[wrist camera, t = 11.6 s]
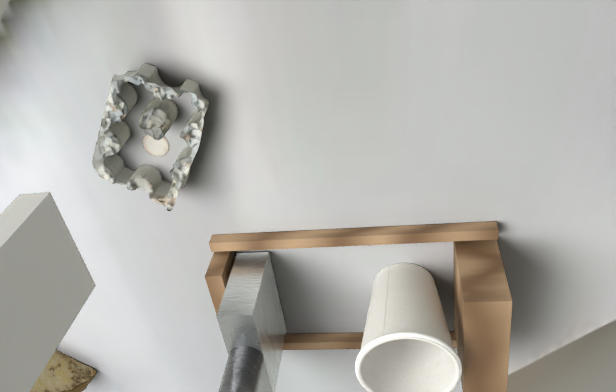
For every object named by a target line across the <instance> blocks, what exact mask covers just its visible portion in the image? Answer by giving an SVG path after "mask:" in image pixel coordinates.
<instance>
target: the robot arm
mask: <svg viewBox="0 0 616 392" xmlns="http://www.w3.org/2000/svg"><path fill="white" fill-rule="evenodd" d="M95 286H96V285H95V283H94V281H93V279H92V277H91V275H90V273H89V271H88V269H87V267H86V265H85V263H84V261H83V259H82V257H81V255H80V252H79V250H78V248H77V246H76V244H75V242H74V240H73V238H72V236H71V234H70V232H69V230H68V228H67V226H66V224H65V222H64V220H63V218H62V216H61V214H60V212H59V210H58V207H57V205H56V203H55V201H54V199H53V197H52V195H51V193H50V192H45V193H33V194H22V195H19V196H18V197H17V198H16V199H15V200H14V201H13V202H12V203H11V204H10V205H9V206H8V207H7V208H6V209H5V210H4V211H3V212H2V213H1V214H0V392H30V390H31V389H32V387H33V385H34V384H35V382H36V381H37V379H38V377H39V376H40V374H41V373H42V371H43V369H44V368H45V366H46V365H47V363H48V361H49V360H50V358H51V356H52V355H53V353H54V352H55V350H56V348H57V347H58V345H59V344H60V342H61V340H62V339H63V337H64V336H65V334H66V332H67V331H68V329H69V328H70V326H71V324H72V323H73V321H74V320H75V318H76V316H77V315H78V313H79V312H80V310H81V308H82V307H83V305H84V304H85V302H86V300H87V299H88V297H89V295H90V294H91V292H92V291H93V289H94V287H95Z"/></svg>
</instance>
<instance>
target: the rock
mask: <svg viewBox="0 0 616 392" xmlns="http://www.w3.org/2000/svg"><path fill="white" fill-rule="evenodd" d="M96 373H97V372H96V370H94V369H92V368H91V367H89V366H87V365H84V364H82V363H80V362H78V361H77V360H75V359H73V358H71V357H70V356H67V355H65V354H63V353H61V352H59V351H57V350H55V352H54V353H53V355H52V356H51V358H50V360H49V361H48V363H47V365H46V366H45V368H44V369H43V371H42V373H41V374H40V376H39V377H38V379H37V381H36V382H35V384H34V385H33V387H32V389H31V390H30V392H81V391H83V390H84V389H86V387H87V385H88V384H89V383H90V382H91V380H92V379H93V377H94V376H95V375H96Z"/></svg>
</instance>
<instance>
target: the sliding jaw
mask: <svg viewBox="0 0 616 392" xmlns="http://www.w3.org/2000/svg"><path fill="white" fill-rule="evenodd" d="M217 319H218V322H219V326H220V329H221V332H222V335H223V338H224V342H225V345H226V348H227V351H228V354H229V357H228V360H227V364H226V368H225V371H224V375H223V378H222V382H221V385H220V389H219V392H275V387H276V382H277V377H278V371H279V366H280V361H281V355H282V350H283V345H284V340H285V334H286V325H285V321H284V316H283V312H282V308H281V303H280V299H279V294H278V290H277V286H276V281H275V277H274V273H273V268H272V264H271V259H270V255H269V252H254V253H237V255H236V258H235V261H234V264H233V267H232V270H231V273H230V276H229V280H228V283H227V286H226V289H225V292H224V295H223V298H222V301H221V304H220V307H219V310H218V313H217Z"/></svg>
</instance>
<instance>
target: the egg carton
mask: <svg viewBox="0 0 616 392" xmlns="http://www.w3.org/2000/svg"><path fill="white" fill-rule="evenodd" d="M128 81H129V82H131V83H134V84H135V85H141V84H144V85H145V89H146V90H148V91H151V92H152V93H153V95H154V97H155V99H153V100H152V101H151V103H150V104H149V105H148V106H147V107H146V109H145V110H144V111H143V112H142V113H141V116H140V119H139V122H138V123H139V126H140V127H141V128H142V130H143V131H144V133H146V134H147V135H146V136H145V137H144V139H143V147H144V149H145V150H146V151H147V152H148V153H149V154H151V155H154V156H163V155H165V154H166V153H167V152H168V150H169V143H168V141H167V139H166V138H165V137H164V135H165V133H166V132H167V131H168V130H169V128H170V127H171V125H172V123H173V122H174V121H175V119H176V117H177V114H178V110H177V107H176V105H175V103H174V102H173V101H171V100H170V99H172V98H173V97H174V96H176V97H180V96H181V94H182V93H184V92H187V93H189V94H191V95H192V105H193V106H194V108H195V109H196V111H197V113H195V114H193V115H192V117H191V118H190V120H189V121H188V122H187V124H186V126H185V127H184V129H183V131H182V132H181V135H180V137H181V138H183V139H185V141H186V143H187V144H188V147H186V148H185V149H184V150H183V151H182V152H181V154H180V155H179V157H178V159H177V160H176V162H175V163H174V164H173V169H172V170H171V171H170V173H171V176H172V177H171V178H172V179H173V182H172V184H171V183H168V182H165V181H163V180H162V177H161V173H160V172H159V170H158V169H157V168H155V167H154V166H151V165H141V166H139V167H138V168H137V169H136V171H133V170H131V169H128V168H126V167H125V166H124V162H123V160H122V158H121V157H120V156H119V155H118V154H117V153H118V152H119V151H120V150H121V148H122V147H123V146H124V144H125V143H126V142H127V140H128V139H129V137H130V129H129V127H128V125H127V124H126V123H125V122H123V121H122V120H123V119H124V117H125V116H126V115H127V114H128V112H129V111H130V110H131V109H132V107H133V106H134V105H135V104H136V102H137V93H136V91H135V90H134V88H133V87H132V86H131V85H129V84H128V83H127V82H128ZM168 98H169V99H168ZM106 104H107V105H106V108H105V110H104V113H103V115H102V121H101V127H100V130H99V135H98V140H97V143H96V147H95V151H94V155H93V166H94V169H95V170H96V172H97V173H98V175H99V176H100V177H102V178H104V179H107V180H108V181H110V182H111V183H112V184H114V183H118V184H121V185H124V186H126V187H127V188H128V190H135V189H136V188H138V189H141V190H144V191H147V192H150V199H151V200H152V201H154V202H156V203H159V204H162V205H164V206H166V207H167V210H168V211H171V210H172V208H173V206H174V203H175V200H176V198H177V196H178V193H179V191H180V189H182V188H183V187H184V186H185V184H186V182H187V179H188V177H189V174H190V166H191V164H192V162H193V159H194V157H195V155H196V153H197V150H198V148H199V144H200V140H201V135H202V129H203V124H204V116H205V113H206V111H207V109H208V106H209V101H208V100H207V99H205V98H204V97H203V96H202V94H201V92H200V88H199V83H198V82H195V81H193V80H190V79H186V81H185V82H184V83H183V85H181V86H179V87H170V86H168V85H166V84H165V83H163V81H162V80H161V79H160V77H159V75H158V70H157V68H156V67H155V66H152V65H149V64H146V63H145V64H144V65H143V66H142V67H141V68H140V69H139V70H138V71H135V72H130V71H127V72H126V73H125V74H124V75H114V76H113V78H112V82H111V85H110V89H109V97H108V100H107V102H106ZM199 111H201V112H199Z"/></svg>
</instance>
